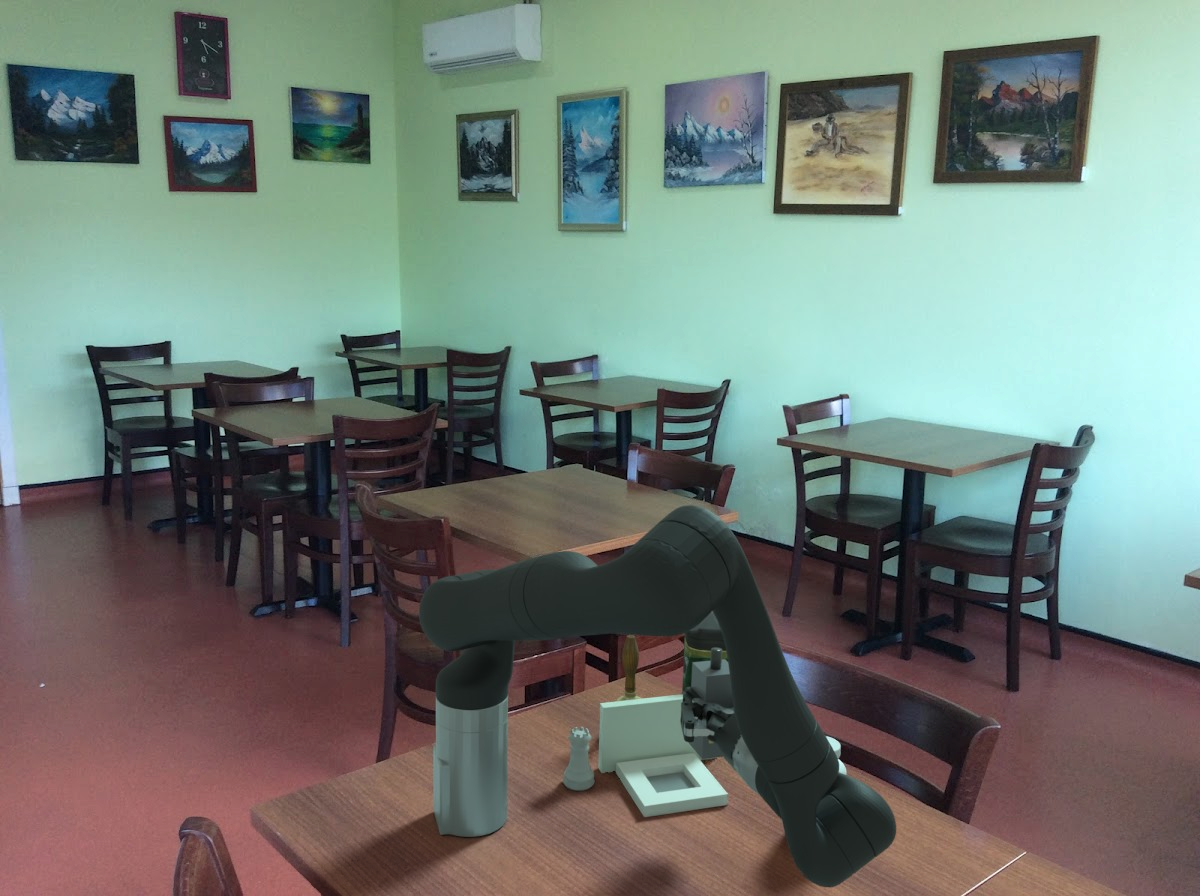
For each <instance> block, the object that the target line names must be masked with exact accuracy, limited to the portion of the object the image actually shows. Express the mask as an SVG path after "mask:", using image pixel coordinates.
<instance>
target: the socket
mask: <svg viewBox="0 0 1200 896" xmlns="http://www.w3.org/2000/svg"><path fill="white" fill-rule="evenodd" d="M681 702H683V694H682V693H681V694H672V695H662V696H652V697H646V698H645V697H644V698H643V697H642V699H634V700H625V701H617V700H616V701H607V702H600V703H599V727H598V728H599V730H598V735H599V736H598V767H597V768H598V770H599V771H600V773H601V774H606V773H605V772H608V773H613V771H615V774H616V775H617V777H618V778H620V779H619V780H620V782H621V784H622V785H623V787H624V788H625V790H626V791H627V792H628V794H629V796H630V797H631V799H632V800H633V802H634V803H635V805H636V807H637V808H638V809H639V811H640V814H642V816H643V817H644V818H648V817H649V818H650V817H655V816H661V815H668V814H669V815H670V814H675V813H682V812H683V813H684V812H688V811H695V810H701V809H702V810H703V809H709V808H714V807H715V808H716V807H722V806H728V805H729V804H728V803H729V802H728V801H729V793H728V792H727V791H726V790H725V788H724V787H723V786H722V785H721V783H720V782H719V781H718V780H717V779H716V777H715V776H714V775H713V774H712V773H711V772H710V770H709V769H708V768H707V767H706V765H705V764H704V763H703V762H702V761H703V760H712V759H714V758H708V759H702V758H701V757H700V756H699V755H698V754H697V752H696V751H695V750H694V749H693V748H692V746H691V745H690V744H689V742H686V741H685V740H684V737H683V732H682V727H681V723H680V718H681ZM717 758H718V757H716V758H715V759H717Z"/></svg>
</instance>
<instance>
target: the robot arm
mask: <svg viewBox="0 0 1200 896" xmlns="http://www.w3.org/2000/svg"><path fill="white" fill-rule="evenodd" d="M422 594H423V595H422V597H421V600H420V603H419V607H418V617H419V623H420V626H421V630H422V632H423V633H424V635H425V636H426V638H427V639H428V640H429V641H430V642H431V644H432V645H434V646H435V647H436V648H438V649H441V650H443V651H446V652H459V651H463V650H464V651H463V652H462V653H461V654H459V655H458V657H456V658H454V659H453V660H452V661H451V662H449V664H447V665H445V666H444V667H443V668H441V670H440V671H439V672H438V674H437V676H436V679H435V744H434V745H433V747H432V748H433V750H432V751H433V753H432V754H433V755H432V757H433V759H432V761H433V762H432V763H433V764H432V765H433V767H432V768H433V771H432V772H433V780H432V781H433V783H432V785H433V814H434V817H435V821H436V824H437V828H438V833H439V834H440V835H441V836H442V835H451V836H456V837H465V838H468V837H469V838H474V837H480V836H482V837H483V836H485V835H489V834H491V833H493V832H496V831H498V830H499V829H501V828H502V827H503V826H504V825H505V823H506V822H507V819H508V804H509V803H508V802H509V801H508V780H509V779H508V777H509V775H508V772H509V771H508V770H509V768H508V767H509V766H508V765H509V764H508V760H509V759H508V757H509V756H508V755H509V749H508V746H509V685H510V682H511V679H512V677H513V673H514V672H513V671H514V655H515V642H521V641H523V642H525V641H553V640H563V639H570V638H575V637H581V636H597V635H607V634H608V635H609V634H610V635H611V634H620V635H634V636H647V637H666V638H667V637H675V636H680V635H683V634H684V635H685V633H686V632H688V631H690V630H692V629H693V628H695V627H696V626H698V625H699V624H700V623H701V622H702V621H703V620H704V619H705V618H706V617H707V616H708V615H709V614H710V613H711V612H713V613H714V615H715V617H716V619H717V621H718V624H719V626H720V629H721V632H722V635H723V638H724V642H725V647H726V652H727V657H728V664H729V672H730V682H731V690H732V699H733V708H726V709H725V708H724V707H722V706H720V705H718V704H716V703H715V702H709V703H708V702H706V701H704V700H702V699H701V697H700V696H699V695H698V694H697V693H696V692H695V691H694V690H693V689H692V688H691V687H686V688H685V691H683V702H681V718H680V723H681V727H682V732H683V737H684V740H685V741H686V742H693V741H694V737H697V736H707V738H708V739H709V740H710V741H712V742H714V743H716V744H717V745H718V747H719V749H720V751H721V753H722V755H723V757H722V758H724V760H725V761H726V762H727V763H728V765H730V766H731V767H732V769H733V770H734V771H735V773H736V774H737V775H738V776H739V777H740V778H741V779H742V780H743V781H744V783H745V785H747V786H748V787H749V788H750V790H752V791H753V792H755V793H756V794H757V795H758V796H760V797H761V799H762V800H763V801H764V802H765V803H766V804H767V805H768V806H769V807H770V809H771V810H772V811H773V812H774V814H776V815H777V817H778V818H780V820H781V821H782V825H783V831H784V835H785V840H786V843H787V847H788V850H789V852H790V855H791V857H792V860H793V862H794V864H795V865H796V867H797V869H798V870H799V872H800V873H801V874H802V875H803V876H804V877H805V879H807V880H808V881H810V882H811V883H813V884H815V885H816V886H818V887H822V888H834V887H837V886H839V885H841V884H842V883H844V882H845V881H847V880H848V879H849V878H851V877H852V876H853V875H855V874H856V873H857V872H858V871H859V870H861V869H863V868H864V867H865V866H866V865H867V864H869V863H870V862H871V861H873V860H874V859H875V858H877V857H878V856H880V855H881V854H882V853H884V852H885V851H886V850H887V849H889V847H890V846H891V845H893V842H894V841H895V839H896V835H897V823H896V822H897V821H896V818H895V815H894V813H893V810H892V808H891V807H890V805H889V803H888V802H887V801H886V800H885V798H884V797H882V795H881V794H879V793H878V792H877V791H876V790H875V789H874V788H872V786H869V785H868V784H866V783H865V782H863V781H861V780H859V779H857V778H855V777H853V776H850V775H848V774H847V775H845V774H842V773H840V772H839V761H838V759H839V758H837V756H836V753H835V752H834V750H833V748H832V746H831V744H830V743H829V741H828V739H827V738H826V736H827V735H825V733H824V731H823V730H822V728H821V725H820V724H819V722H818V720H817V719H816V718H815V716H814V713H813V712H812V711H811V708H810V707H809V706H808V704H807V702H806V700H805V699H804V697H803V694H802V693H801V691H800V689H799V687H798V685H797V683H796V681H795V678H794V677H793V675H792V672H791V670H790V667H789V665H788V663H787V660H786V657H785V656H784V655H785V654H784V652H783V649H782V647H781V644H780V642H779V639H778V636H777V634H776V631H775V628H774V626H773V622H772V621H771V618H770V615H769V612H768V610H767V607H766V604H765V602H764V600H763V597H762V595H761V592H760V588H759V586H758V583H757V581H756V578H755V576H754V573H753V570H752V568H751V566H750V563H749V561H748V558H747V556H746V553H745V551H744V550H743V548H742V546H741V544H740V542H739V540H738V539H737V537H736V535H735V534H734V532H733V531H732V530H731V528H730V527H729V526H728V524H727V523H726V522H725V521H724V520H722V518H721V517H720V516H719V515H717V514H715V513H714V512H712V510H709V509H707V508H705V507H702V506H699V505H692V504H691V505H690V504H689V505H687V504H686V505H682V506H679V507H677V508H675V509H673V510H671V512H669V513H668V514H667V515H666V516H664V517H663V518H662V519H661V520H660V521H659V522H658V523H656V524H655V525H654V526H653V527H652V528H651V529H650V530H648V532H646V533H645V534H644V535H643V536H642V537H641V538H640V539H638V540H637V541H636V542H635V543H634V544H633V545H632V546H631V547H629V549H627V550H626V551H625V552H623V554H621V555H620V556H618V557H617V558H615V559H612V560H611V561H609V562H606V563H603V564H600V565H598V564H597V563H596V562H595V561H593V559H591V558H589V557H588V556H586V555H584V554H582V553H580V552H577V551H569V550H562V551H554V552H549V553H544V554H540V555H536V556H533V557H530V558H526V559H524V560H520V561H517V562H515V563H512V564H509V565H506V566H504V567H500V568H498V569H483V570H477V571H471V572H466V573H461V574H460V573H459V574H455V575H450V576H449V575H448V576H444V577H442V578H439V579H437V580H435V581H433V582H432V583H430V584H429V585H428V586H427V588H426V590H425V591H424V592H423V593H422ZM702 710H703V715H702Z"/></svg>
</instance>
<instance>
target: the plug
mask: <svg viewBox="0 0 1200 896" xmlns="http://www.w3.org/2000/svg"><path fill="white" fill-rule="evenodd" d="M691 688H692V689H693V690H694V691H695V692H696V693H697V694H698V695H699V696H700V697H701V699H702V700H704V701H706V702H708V703H709V702H715V703H716V704H718V705H720V706H722V707H724V708H725V709H726V708H733V699H732V690H731V682H730V672H729V664H728V662H727V661H726V660H725V659H722V649H721V648H716V647H715V648H712V649H711V661H702V662H692V682H691ZM702 715H703V710H702ZM689 744H690V745H691V746H692V748H693V749H694V750H695V751H696V752H697V754H698V755H699V756H700V757H701V758H702V759H706V760H709V759H708V758H713V759H717V758H724V757H723V755H722V753H721V751H720V749H719V747H718V745H717V744H716V743H714V742H712V741H710V740H709V739H708V738H707V736H697V737H694V741H693V742H689ZM716 757H717V758H716Z"/></svg>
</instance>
